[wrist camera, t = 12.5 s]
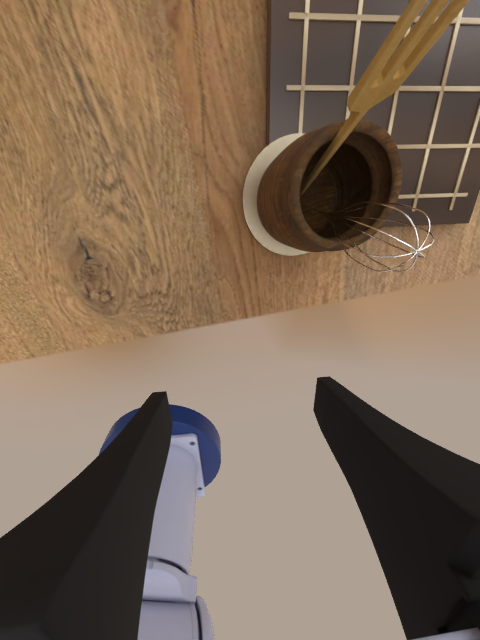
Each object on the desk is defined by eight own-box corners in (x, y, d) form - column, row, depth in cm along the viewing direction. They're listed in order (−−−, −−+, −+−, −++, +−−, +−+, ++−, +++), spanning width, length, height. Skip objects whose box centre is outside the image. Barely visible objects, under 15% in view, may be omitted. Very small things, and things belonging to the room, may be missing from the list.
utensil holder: (268, 257, 18) (353, 320, 7) (241, 164, 15) (306, 32, 4) (343, 228, 18) (555, 248, 7) (327, 129, 15) (631, -107, 4)
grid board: (449, 245, 20) (462, 247, 19) (242, 255, 19) (244, 258, 18) (555, -92, 13) (584, -119, 12) (232, -115, 12) (233, -147, 11)
